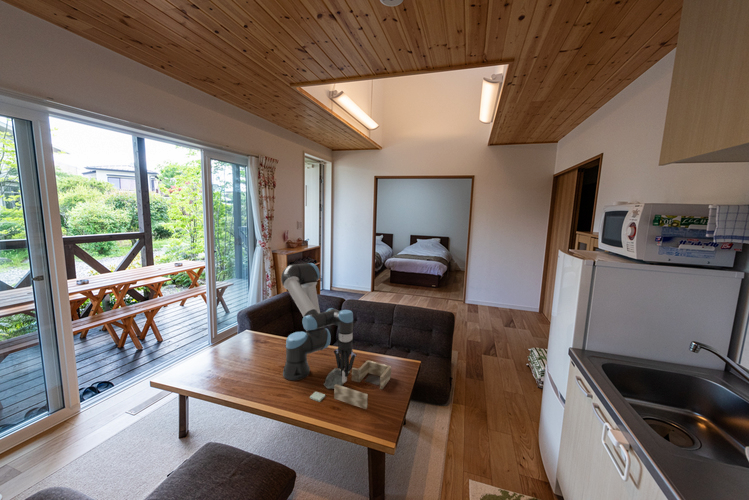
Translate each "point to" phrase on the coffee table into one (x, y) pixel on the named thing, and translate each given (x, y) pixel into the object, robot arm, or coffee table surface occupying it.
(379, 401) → the coffee table surface
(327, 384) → the stone
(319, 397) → the pad
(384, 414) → the coffee table surface
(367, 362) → the wooden wall enclosure
